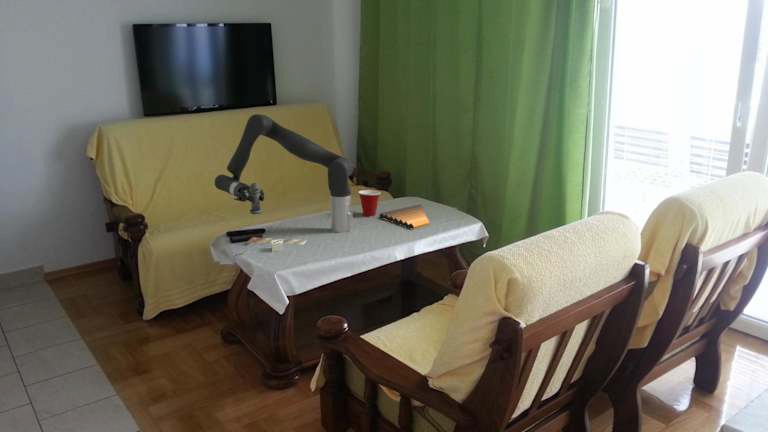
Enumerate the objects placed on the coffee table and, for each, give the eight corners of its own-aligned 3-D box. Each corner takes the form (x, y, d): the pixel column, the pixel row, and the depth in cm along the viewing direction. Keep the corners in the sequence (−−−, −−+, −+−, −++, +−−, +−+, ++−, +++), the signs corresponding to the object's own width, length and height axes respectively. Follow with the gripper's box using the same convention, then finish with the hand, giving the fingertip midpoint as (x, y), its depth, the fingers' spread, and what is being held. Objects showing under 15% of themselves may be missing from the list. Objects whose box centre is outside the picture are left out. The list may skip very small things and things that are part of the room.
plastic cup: (384, 214, 304) (384, 190, 300) (372, 219, 295) (372, 195, 292) (366, 210, 309) (366, 187, 306) (354, 216, 301) (353, 192, 297)
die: (283, 249, 254) (282, 239, 252) (283, 253, 250) (283, 242, 248) (272, 250, 253) (271, 240, 252) (272, 254, 249) (271, 243, 247)
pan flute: (417, 209, 313) (379, 218, 298) (417, 203, 312) (379, 212, 297) (452, 220, 295) (413, 231, 280) (452, 214, 294) (413, 223, 279)
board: (310, 242, 263) (310, 239, 263) (305, 248, 255) (305, 245, 255) (252, 239, 267) (252, 236, 266) (245, 245, 259) (245, 242, 259)
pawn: (263, 211, 261) (262, 181, 257) (259, 214, 256) (258, 184, 252) (252, 210, 261) (250, 181, 258) (248, 213, 257) (246, 184, 253)
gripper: (225, 184, 263) (241, 193, 249) (255, 180, 271) (273, 188, 258) (226, 201, 265) (242, 211, 252) (256, 196, 273) (274, 205, 260)
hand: (258, 199), depth 255 cm, fingers closed on pawn, 3 cm apart
